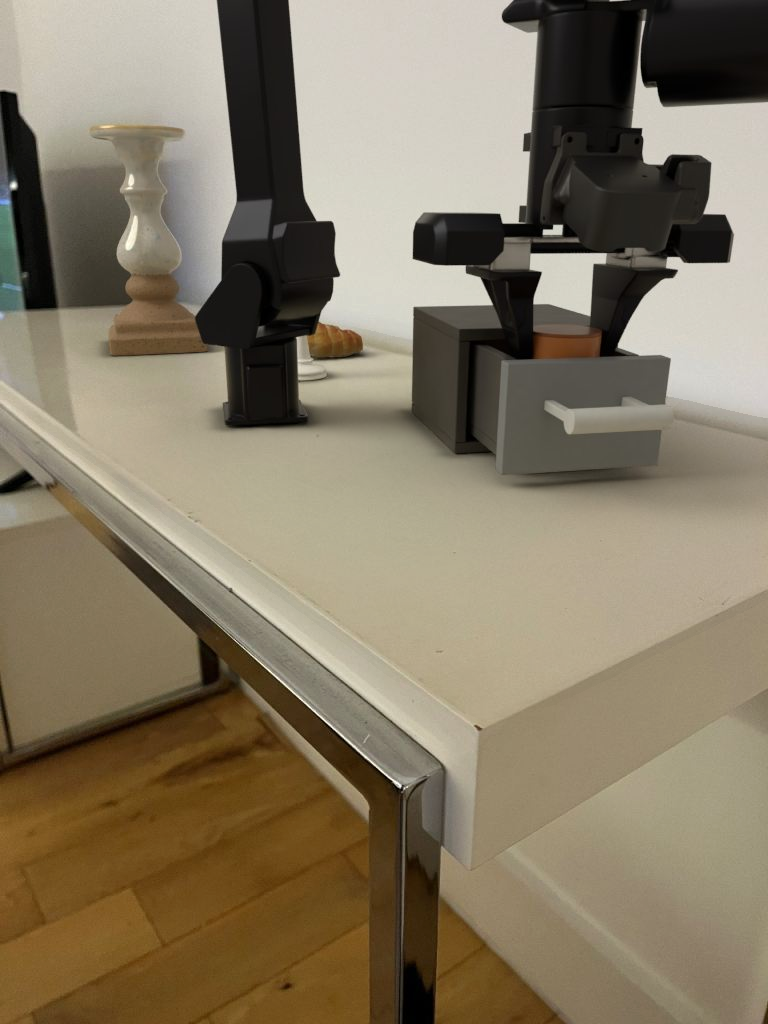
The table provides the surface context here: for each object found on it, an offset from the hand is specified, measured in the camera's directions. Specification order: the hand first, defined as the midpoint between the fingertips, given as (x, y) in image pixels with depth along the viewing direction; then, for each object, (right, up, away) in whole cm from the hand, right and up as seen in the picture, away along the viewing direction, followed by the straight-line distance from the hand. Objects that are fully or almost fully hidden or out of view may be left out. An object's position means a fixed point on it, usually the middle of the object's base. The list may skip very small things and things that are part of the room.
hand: (559, 379), depth 53 cm
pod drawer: (0, -5, +1) cm, 5 cm away
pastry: (-19, +9, +41) cm, 46 cm away
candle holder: (-39, +11, +46) cm, 61 cm away
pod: (0, -1, 0) cm, 1 cm away
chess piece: (-20, +5, +30) cm, 36 cm away
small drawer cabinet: (-2, -2, +11) cm, 12 cm away
